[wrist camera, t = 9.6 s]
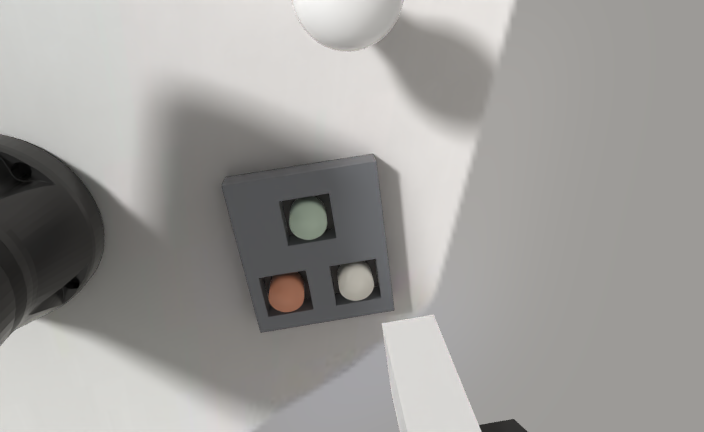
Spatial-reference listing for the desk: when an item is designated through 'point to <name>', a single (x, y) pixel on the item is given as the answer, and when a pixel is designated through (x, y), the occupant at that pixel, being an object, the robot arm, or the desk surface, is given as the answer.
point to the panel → (317, 254)
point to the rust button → (286, 292)
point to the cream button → (355, 280)
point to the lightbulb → (347, 21)
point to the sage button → (308, 218)
